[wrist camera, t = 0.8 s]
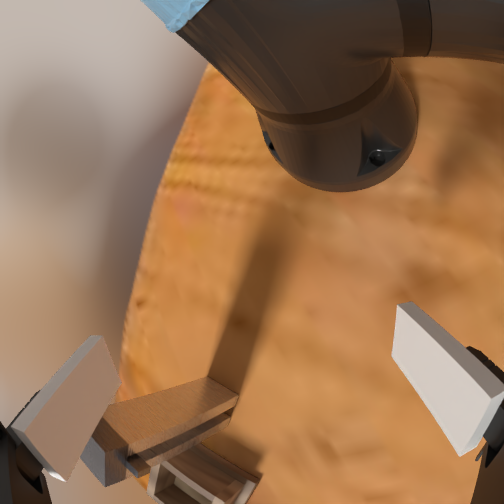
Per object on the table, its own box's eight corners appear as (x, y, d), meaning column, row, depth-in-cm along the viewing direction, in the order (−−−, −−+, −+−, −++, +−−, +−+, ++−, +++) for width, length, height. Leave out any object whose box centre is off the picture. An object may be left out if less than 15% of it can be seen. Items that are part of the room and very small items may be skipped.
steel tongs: (207, 376, 28) (72, 412, 14) (249, 400, 25) (117, 466, 11) (197, 407, 28) (74, 450, 14) (237, 432, 25) (116, 499, 11)
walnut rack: (178, 427, 29) (149, 439, 25) (260, 479, 23) (236, 502, 19) (165, 479, 29) (140, 492, 25) (231, 525, 23) (210, 544, 19)
